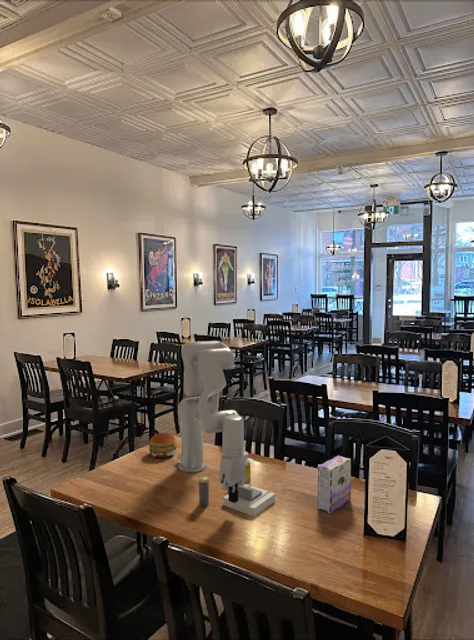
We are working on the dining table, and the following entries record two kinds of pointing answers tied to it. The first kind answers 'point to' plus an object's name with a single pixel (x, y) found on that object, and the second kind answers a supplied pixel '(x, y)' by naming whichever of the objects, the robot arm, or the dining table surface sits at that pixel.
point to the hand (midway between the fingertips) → (233, 501)
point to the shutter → (248, 493)
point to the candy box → (334, 484)
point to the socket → (251, 502)
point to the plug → (203, 491)
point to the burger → (162, 445)
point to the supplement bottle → (247, 470)
